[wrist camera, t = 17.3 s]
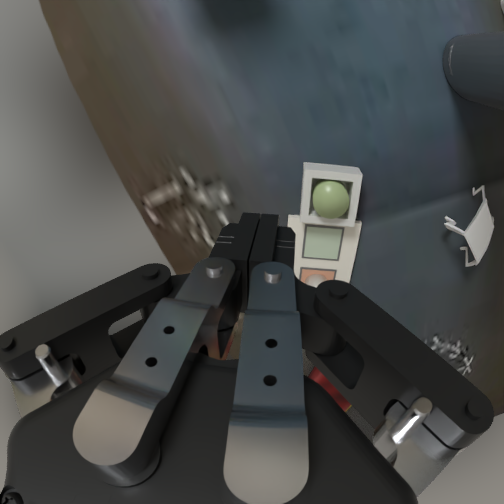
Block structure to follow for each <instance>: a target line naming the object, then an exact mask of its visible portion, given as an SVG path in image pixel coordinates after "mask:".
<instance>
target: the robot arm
mask: <svg viewBox="0 0 504 504" xmlns="http://www.w3.org/2000/svg"><path fill="white" fill-rule="evenodd" d="M443 67H444V72H445V75H446V77H447V80H448V82H449V83H450V85H451V87H452V88H453V89H454V90H455V92H456V93H458V94H459V95H460V96H461V97H463V98H465V99H466V100H469V101H472V102H476V103H480V104H483V105H486V106H489V107H493V108H496V109H499V110H502V111H504V32H490V33H479V34H469V35H461V36H457V37H455V38H453V39H452V40H450V41H449V42H448V44H447V45H446V47H445V50H444V54H443ZM295 238H296V234H295V232H294V231H293V230H292V228H291V227H280V226H279V215H274V214H262V215H261V214H258V213H243V214H242V216H241V219H240V221H239V224H236V223H229V224H228V225H227V226H225V227H224V228H222V230H221V232H220V234H219V237H218V239H217V241H216V243H215V245H214V247H213V249H212V251H211V254H210V256H209V258H206V259H203V260H201V261H200V262H198V263H197V264H196V265H195V267H194V268H193V270H192V271H191V273H189V274H182V275H174V276H171V272H170V269H169V268H168V267H167V266H165V265H163V264H158V263H157V264H156V263H153V264H147V265H144V266H141V267H139V268H137V269H135V270H132V271H130V272H128V273H126V274H124V275H121V276H119V277H117V278H115V279H113V280H111V281H109V282H106V283H105V284H102V285H100V286H98V287H96V288H94V289H92V290H90V291H88V292H85V293H83V294H81V295H79V296H77V297H75V298H73V299H71V300H69V301H67V302H65V303H62V304H61V305H58V306H56V307H55V308H53V309H50V310H48V311H46V312H44V313H42V314H40V315H38V316H36V317H34V318H32V319H30V320H28V321H26V322H24V323H22V324H20V325H18V326H16V327H14V328H12V329H10V330H8V331H6V332H5V333H3V334H2V335H0V367H1V369H2V370H3V371H4V373H5V375H6V377H7V378H8V379H9V380H10V382H11V384H12V388H13V392H14V396H15V400H16V403H17V406H18V410H19V413H20V417H21V419H20V420H19V421H18V422H17V424H16V425H15V426H14V428H13V430H12V432H11V434H10V437H9V440H8V446H7V447H8V448H7V473H6V479H5V485H4V488H3V490H2V492H1V494H0V504H418V501H417V496H418V495H420V494H421V493H422V492H423V491H424V489H426V487H428V485H429V484H430V483H431V482H432V481H433V480H434V479H435V478H436V477H437V476H438V475H439V474H440V473H441V471H442V470H443V469H444V468H445V467H446V466H447V465H448V463H449V462H450V461H451V460H452V459H453V458H454V457H455V456H456V455H458V454H459V453H460V452H461V451H463V450H464V449H465V448H466V447H468V446H469V445H470V444H472V443H473V442H474V441H475V440H476V439H477V438H478V437H480V436H481V435H482V434H483V433H484V432H485V431H486V430H487V429H489V427H490V426H491V424H492V422H493V418H494V411H493V407H492V404H491V402H490V400H489V399H488V398H487V397H486V396H485V395H484V394H483V393H482V392H481V391H480V390H479V389H478V388H476V387H475V386H474V385H473V384H472V383H471V382H470V381H468V380H467V379H466V378H465V377H464V376H463V375H461V374H460V373H459V372H458V371H457V370H456V369H454V368H453V367H452V366H451V365H450V364H448V363H447V362H446V361H445V360H444V359H443V358H441V357H440V356H439V355H438V354H437V353H435V352H434V351H433V350H432V349H431V348H429V347H428V346H427V345H426V344H425V343H423V342H422V341H421V340H420V339H419V338H417V337H416V336H415V335H414V334H412V333H411V332H410V331H409V330H408V329H406V328H405V327H404V326H403V325H401V324H400V323H399V322H398V321H397V320H395V319H394V318H393V317H392V316H390V315H389V314H388V313H387V312H385V311H384V310H383V309H382V308H380V307H379V306H378V305H377V304H375V303H374V302H373V301H372V300H370V299H369V298H368V297H366V296H365V295H364V294H363V293H361V292H360V291H359V290H358V289H356V288H355V287H354V286H352V285H351V284H349V283H347V282H345V281H341V280H327V281H324V282H322V283H320V284H319V285H318V286H317V288H316V287H313V286H310V285H307V284H305V283H303V282H302V281H300V280H299V279H298V278H297V277H296V275H295V273H294V259H295ZM139 309H140V312H141V316H142V320H140V321H138V322H136V323H134V324H132V325H130V326H128V327H127V328H124V329H123V330H121V331H119V332H117V333H115V334H113V335H109V334H108V329H109V327H110V326H111V325H112V324H113V323H114V322H116V321H118V320H120V319H122V318H124V317H126V316H128V315H130V314H132V313H134V312H136V311H138V310H139ZM240 312H242V313H245V314H244V322H243V330H242V338H241V346H240V354H239V359H235V360H226V358H227V355H228V353H229V350H230V347H231V344H232V342H233V339H234V336H235V333H236V330H237V321H238V318H239V314H240ZM302 349H305V353H306V356H307V358H308V359H309V360H310V361H311V362H312V363H313V364H314V365H315V367H316V368H317V369H318V370H319V371H320V372H321V373H322V374H323V375H324V376H325V377H326V378H327V379H328V380H329V382H330V383H331V384H332V385H333V386H334V387H335V388H336V389H337V390H338V391H339V392H340V393H341V394H342V395H343V396H344V398H345V399H346V400H347V401H348V402H349V403H350V404H351V405H352V406H353V407H354V408H355V409H356V410H357V411H358V412H359V413H360V414H361V415H362V416H363V417H364V419H365V420H366V421H367V422H368V423H369V424H370V425H371V426H372V427H373V428H374V429H375V431H374V434H373V443H374V445H373V444H372V443H371V441H370V440H369V439H368V438H367V437H366V436H365V435H364V434H363V432H362V431H361V430H360V429H359V428H358V427H357V426H356V424H355V423H354V422H353V421H352V420H351V419H350V417H349V416H348V415H347V414H346V413H345V412H344V410H343V409H342V408H341V407H340V406H339V405H338V403H337V402H336V401H335V400H334V399H333V398H332V396H331V395H330V394H329V393H328V392H327V391H326V390H325V389H324V388H323V387H322V386H321V385H319V384H318V383H317V382H315V381H314V380H312V379H310V378H309V377H307V376H305V375H303V358H302Z"/></svg>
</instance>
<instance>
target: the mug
mask: <svg viewBox="0 0 504 504" xmlns="http://www.w3.org/2000/svg"><path fill="white" fill-rule="evenodd" d="M501 9H502V11H503V13H504V0H501Z"/></svg>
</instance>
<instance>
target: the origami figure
mask: <svg viewBox="0 0 504 504" xmlns="http://www.w3.org/2000/svg"><path fill="white" fill-rule="evenodd" d="M481 190H482V197H483V202H482V204H481V206H480V208H479V209H478V211H477V213H476V215H475V217H474V218H473V220H472V221H471V223H470V224H469V226H468V227H467V229H466V230H465V231H463V230H461V229H459V228H457V227H455V226H454V225H456V223H455V221H454V220H452V219H450V218H448V217H447V216H446V217H444V218H445V219H446V221H448V222H447V223H444V224H445V226H446V227H447V229H449V230H452V231H454V232H456V233H459V234H461V235H463V236H465V238H466V240H467V243H468V245H469V247H470V249H471V251H472V253H473V255H474V258H475V260H474V261H472V262H470V263H468V248H467V247H460V250H466V267H468V266H473V265H477V264H478V263H479V262H480V260H481V258H482V257H483V255H484V253H485V251H486V250H487V248H488V245H489V242H490V239H491V235H492V232H493V229H494V227H495V226H494V225H493V223H494V217H492V216H491V215H490V212H489V208H488V205H487V199H486V198H485V192H484V185H483V186H481V187H480V188H479V189H477V190H476V191H475V187H474V188H473V196H474V195H475V194H477V193H478V192H479V191H481Z"/></svg>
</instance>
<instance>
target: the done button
mask: <svg viewBox="0 0 504 504" xmlns="http://www.w3.org/2000/svg"><path fill="white" fill-rule="evenodd" d="M312 197H313V206H314V209H315V211H316V212H317V213H318V214H319V215H320V216H322V217H324V218H328V219H334V218H338V217H340V216H342V215H343V214H344V213H345V212H346V211H347V209H348V207H349V196H348V193H347V191H346V188H345V186H344V184H343V182H342V181H340V180H331V179H319V180H318V181H317V182H316V183H315V185H314V186H313V189H312Z"/></svg>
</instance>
